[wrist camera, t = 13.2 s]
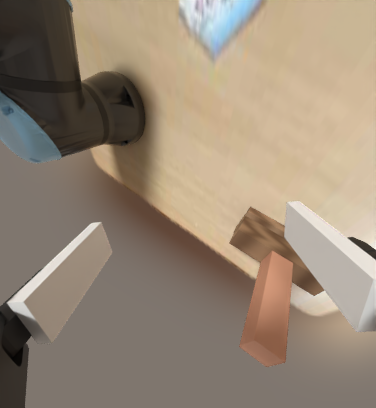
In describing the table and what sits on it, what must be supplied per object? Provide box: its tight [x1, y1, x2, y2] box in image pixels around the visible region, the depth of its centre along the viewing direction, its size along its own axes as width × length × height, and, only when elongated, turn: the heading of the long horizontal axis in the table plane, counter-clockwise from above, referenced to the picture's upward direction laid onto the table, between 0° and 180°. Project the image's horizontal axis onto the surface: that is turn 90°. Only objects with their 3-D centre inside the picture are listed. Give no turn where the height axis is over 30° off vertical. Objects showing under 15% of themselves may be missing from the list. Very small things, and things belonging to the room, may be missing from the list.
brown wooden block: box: [230, 207, 324, 296], centre depth 37 cm, size 18×7×7 cm, turn 72°
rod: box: [239, 251, 293, 367], centre depth 29 cm, size 4×4×16 cm
